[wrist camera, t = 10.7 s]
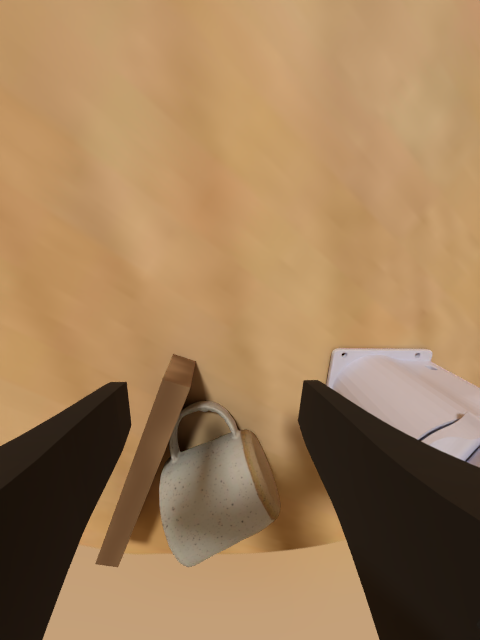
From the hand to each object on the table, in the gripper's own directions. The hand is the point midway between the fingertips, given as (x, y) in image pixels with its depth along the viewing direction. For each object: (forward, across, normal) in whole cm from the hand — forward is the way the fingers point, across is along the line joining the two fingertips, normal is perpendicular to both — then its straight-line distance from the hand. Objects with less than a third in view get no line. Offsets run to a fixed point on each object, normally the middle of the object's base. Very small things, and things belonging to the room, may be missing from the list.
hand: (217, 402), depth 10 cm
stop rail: (+10, +6, +13) cm, 17 cm away
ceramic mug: (+11, 0, +12) cm, 16 cm away
